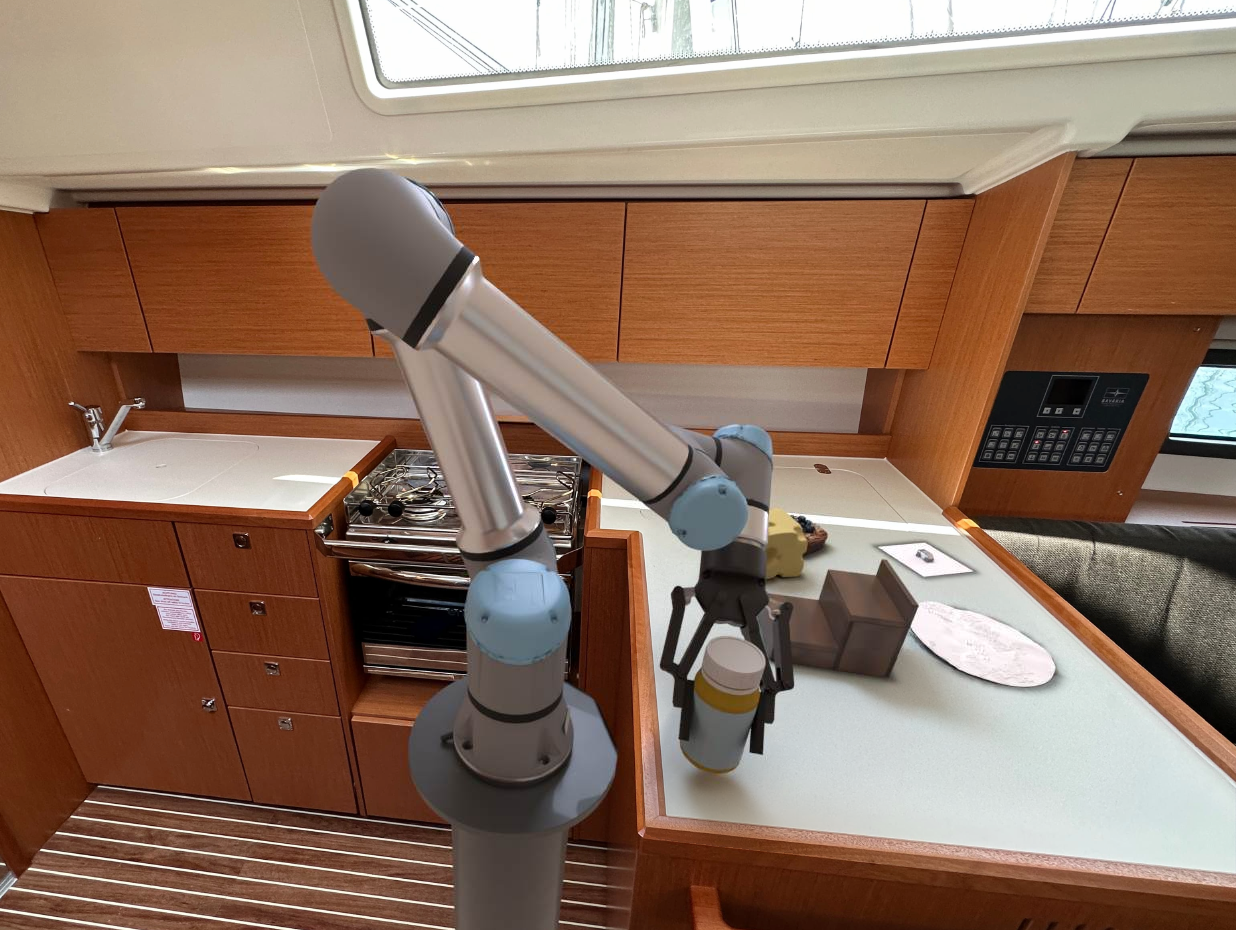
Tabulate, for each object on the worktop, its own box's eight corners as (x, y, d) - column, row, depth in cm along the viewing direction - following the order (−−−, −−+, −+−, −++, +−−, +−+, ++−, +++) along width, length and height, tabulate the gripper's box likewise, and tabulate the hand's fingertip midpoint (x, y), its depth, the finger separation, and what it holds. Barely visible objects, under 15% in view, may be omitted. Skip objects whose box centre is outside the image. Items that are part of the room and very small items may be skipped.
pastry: (751, 539, 125) (757, 514, 122) (783, 525, 131) (789, 502, 128) (799, 561, 117) (806, 535, 114) (830, 545, 123) (838, 521, 121)
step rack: (769, 659, 89) (790, 588, 83) (757, 611, 101) (774, 545, 95) (889, 677, 87) (919, 605, 81) (862, 626, 98) (887, 559, 92)
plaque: (878, 611, 101) (881, 604, 101) (972, 603, 106) (975, 596, 105) (978, 694, 84) (982, 686, 84) (1086, 680, 88) (1091, 672, 88)
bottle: (686, 722, 73) (709, 626, 67) (743, 744, 71) (774, 646, 64) (672, 761, 68) (695, 660, 61) (733, 787, 65) (765, 684, 58)
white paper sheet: (923, 576, 113) (926, 570, 113) (877, 546, 124) (880, 540, 123) (973, 571, 116) (976, 564, 115) (924, 542, 126) (927, 536, 126)
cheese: (801, 577, 112) (814, 530, 107) (751, 582, 109) (763, 535, 104) (768, 550, 120) (779, 506, 116) (722, 555, 118) (731, 510, 113)
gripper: (809, 568, 73) (803, 762, 66) (648, 545, 76) (626, 729, 69) (833, 551, 66) (828, 767, 59) (654, 527, 69) (630, 730, 62)
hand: (719, 746), depth 64 cm, fingers closed on bottle, 7 cm apart
